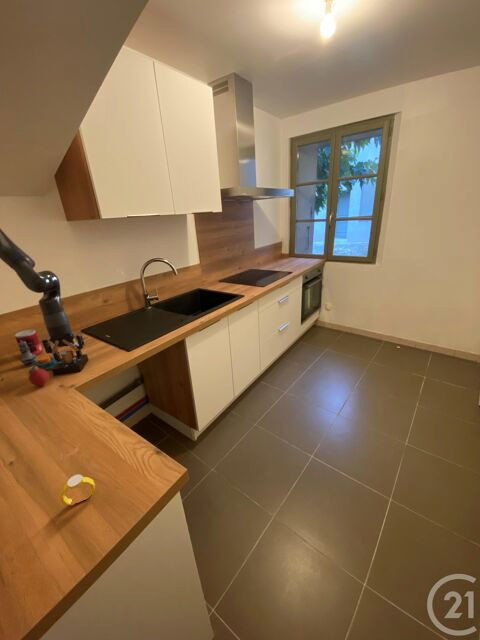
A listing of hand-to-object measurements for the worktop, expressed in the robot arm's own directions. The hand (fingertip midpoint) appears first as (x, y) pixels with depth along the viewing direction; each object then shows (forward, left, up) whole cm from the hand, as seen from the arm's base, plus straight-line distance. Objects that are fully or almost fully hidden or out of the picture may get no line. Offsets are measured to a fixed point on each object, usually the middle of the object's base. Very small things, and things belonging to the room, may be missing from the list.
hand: (69, 359), depth 108 cm
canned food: (-24, +20, -4) cm, 32 cm away
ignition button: (-11, +4, -1) cm, 12 cm away
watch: (+24, -63, -4) cm, 68 cm away
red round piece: (-7, -11, -4) cm, 14 cm away
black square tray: (0, 0, -4) cm, 4 cm away
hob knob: (0, 0, -1) cm, 1 cm away
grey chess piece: (-20, +9, -4) cm, 22 cm away
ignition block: (-11, +4, -4) cm, 12 cm away
